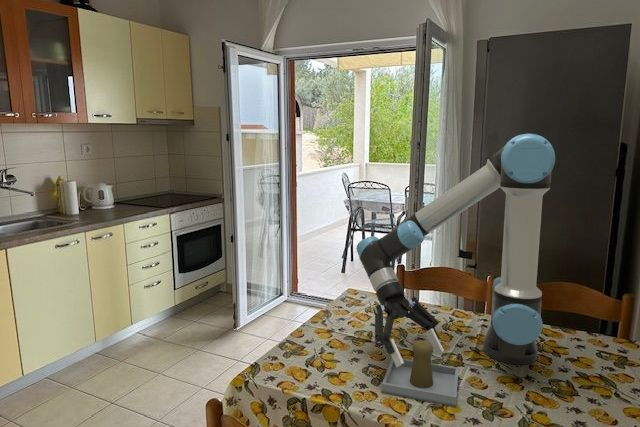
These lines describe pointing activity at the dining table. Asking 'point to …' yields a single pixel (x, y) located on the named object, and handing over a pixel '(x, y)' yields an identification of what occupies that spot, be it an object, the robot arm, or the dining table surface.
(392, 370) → the tray
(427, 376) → the cork
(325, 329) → the dining table surface
